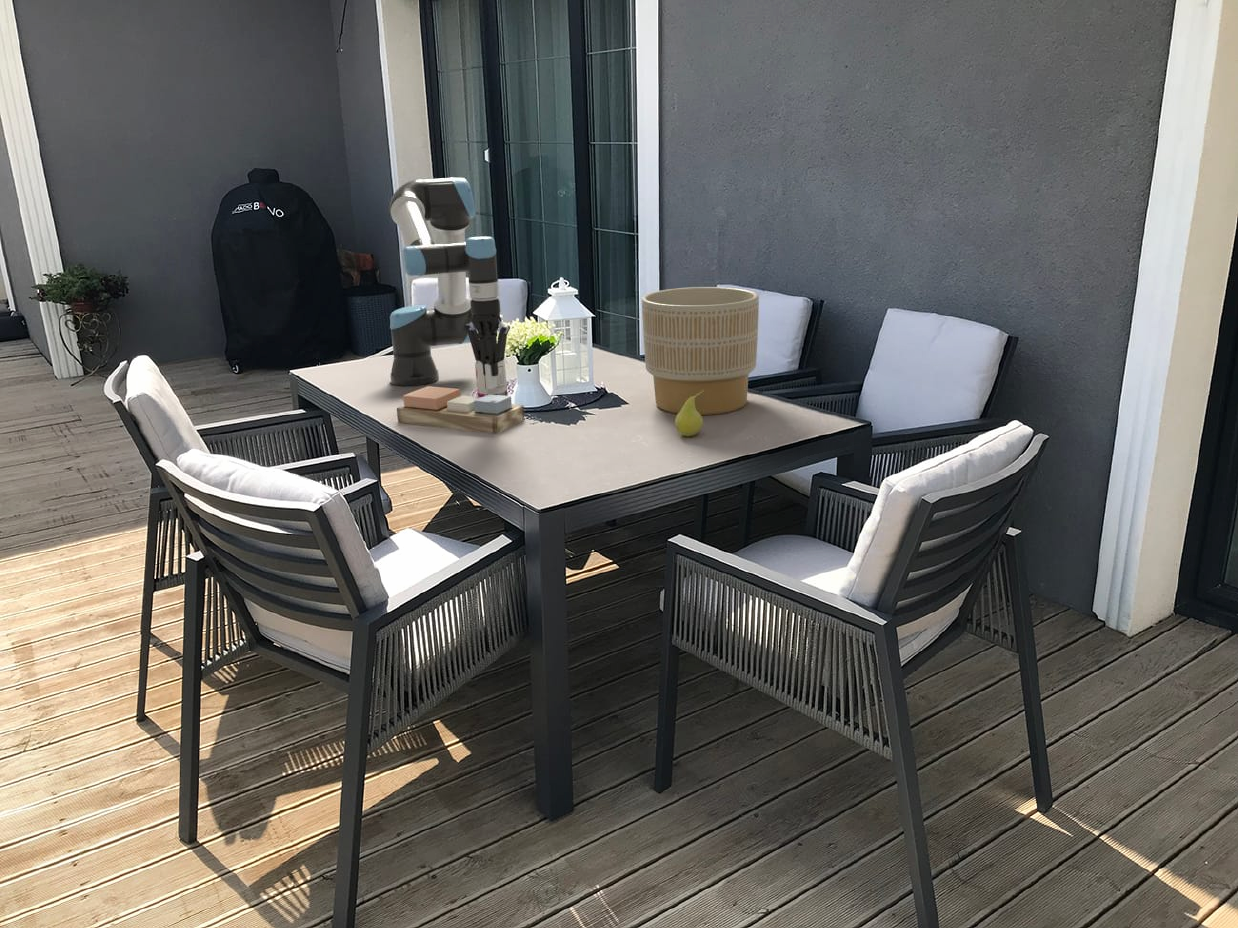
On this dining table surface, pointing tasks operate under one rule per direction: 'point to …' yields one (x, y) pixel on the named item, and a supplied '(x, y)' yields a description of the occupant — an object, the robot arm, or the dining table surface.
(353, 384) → the dining table surface
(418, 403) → the key terracotta
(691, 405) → the fruit
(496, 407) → the key slate
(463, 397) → the key ivory
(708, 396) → the planter
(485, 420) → the wooden compartment tray
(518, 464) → the dining table surface
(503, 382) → the supplement can
